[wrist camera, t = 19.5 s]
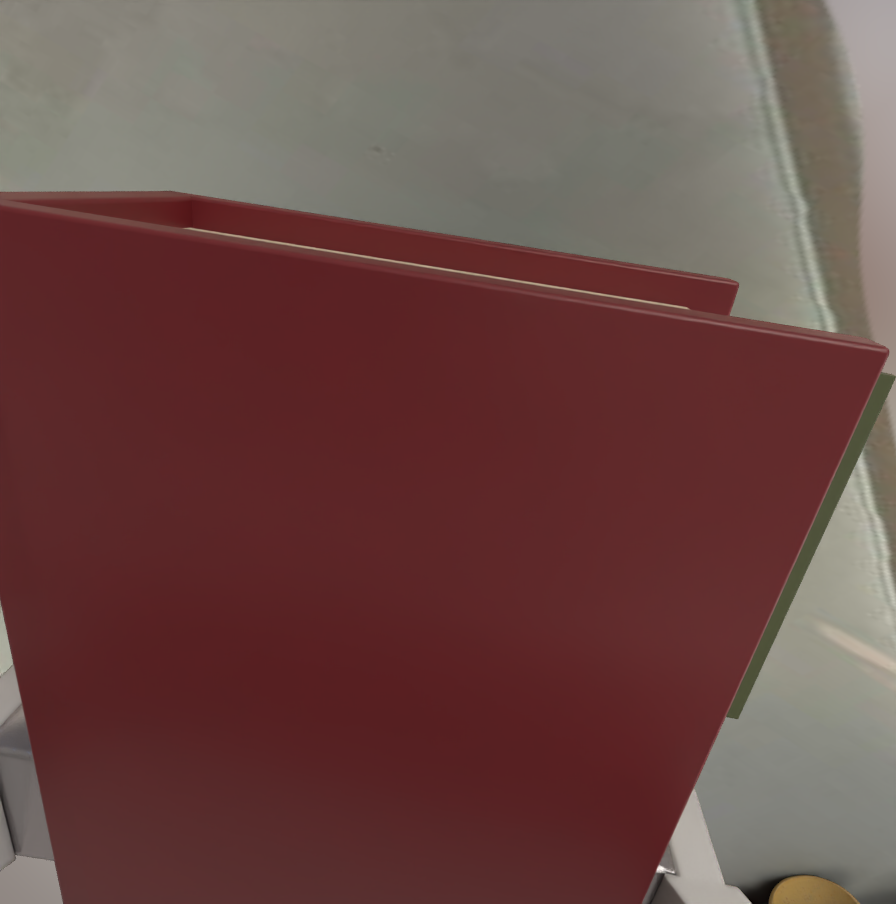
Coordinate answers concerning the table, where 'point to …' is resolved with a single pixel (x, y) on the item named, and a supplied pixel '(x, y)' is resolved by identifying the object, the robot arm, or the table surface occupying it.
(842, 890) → the kendama
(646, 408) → the burgundy book
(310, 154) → the table surface
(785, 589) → the olive book
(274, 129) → the table surface
